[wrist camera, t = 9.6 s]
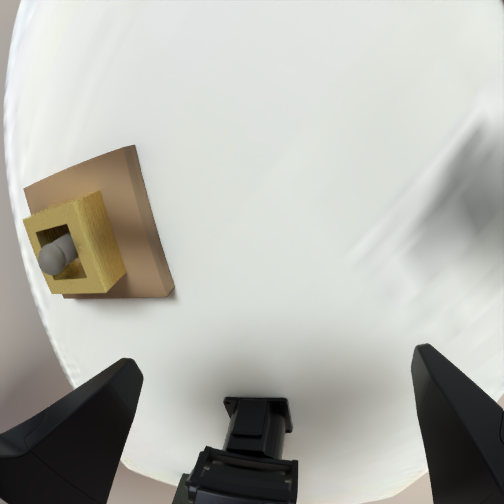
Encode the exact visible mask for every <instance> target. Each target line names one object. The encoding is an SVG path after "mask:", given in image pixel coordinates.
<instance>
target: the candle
mask: <svg viewBox="0 0 504 504" xmlns="http://www.w3.org/2000/svg"><path fill="white" fill-rule="evenodd" d="M188 477H189V474H183V475H182V477H181V479H180V482H179V485H178V488H177V491H176V494H175V497H174V500H173V502H172V504H193V503H190V502H188V490H187V488H186V487H185V482H186V480H187V478H188Z"/></svg>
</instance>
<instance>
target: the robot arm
mask: <svg viewBox="0 0 504 504" xmlns="http://www.w3.org/2000/svg"><path fill="white" fill-rule="evenodd" d="M411 373H412V379H413V386H414V393H415V401H416V409H417V416H418V421H419V425H420V430H421V434H422V439H423V443H424V448H425V453H426V458H427V464H428V469H429V475H430V482H431V488H432V495H433V503H434V504H504V411H503V409H502V407H501V406H499V405H498V404H497V403H496V402H495V401H494V400H493V399H492V398H491V397H490V396H489V395H487V394H486V393H485V392H484V391H483V390H482V389H481V388H480V387H479V386H477V385H476V384H475V383H474V382H473V381H472V380H471V379H470V378H468V377H467V376H466V375H465V374H464V373H463V372H462V371H461V370H459V369H458V368H457V367H456V366H455V365H454V364H452V363H451V362H450V361H449V360H448V359H447V358H446V357H444V356H443V355H442V354H441V353H440V352H439V351H437V350H436V349H435V348H434V347H433V346H431V345H430V344H428V343H426V344H421V345H417V346H416V347H415V349H414V354H413V359H412V364H411ZM142 384H143V374H142V372H141V371H140V369H139V367H138V366H137V364H136V362H135V361H134V360H133V359H131V358H122V359H120V360H118V361H117V362H115V363H114V364H112V365H111V366H110V367H108V368H107V369H105V370H104V371H102V372H101V373H99V374H98V375H96V376H95V377H93V378H92V379H90V380H89V381H87V382H86V383H84V384H83V385H81V386H80V387H78V388H76V389H75V390H73V391H72V392H70V393H69V394H67V395H66V396H64V397H63V398H61V399H60V400H59V401H57V402H55V403H54V404H52V405H51V406H50V407H47V408H46V409H45V410H43V411H41V412H40V413H38V414H37V415H35V416H33V417H32V418H30V419H28V420H26V421H24V422H23V423H21V424H19V425H17V426H15V427H13V428H11V429H9V430H8V431H6V432H4V433H2V434H0V504H106V503H107V500H108V496H109V493H110V490H111V487H112V483H113V480H114V477H115V474H116V470H117V467H118V464H119V461H120V458H121V455H122V452H123V449H124V446H125V443H126V440H127V437H128V434H129V431H130V428H131V425H132V422H133V419H134V416H135V413H136V409H137V404H138V400H139V396H140V392H141V388H142ZM223 403H224V405H225V408H226V410H227V412H228V414H229V417H230V419H231V420H230V424H229V428H228V432H227V435H226V439H225V443H224V446H223V450H219V449H214V448H212V447H209V446H206V447H205V449H204V451H201V452H200V454H199V457H198V460H197V462H196V465H195V467H194V469H193V470H192V472H191V473H190V475H189V477H188V478H187V480H186V482H185V487H186V488H187V490H188V502H190V503H193V504H296V501H297V492H298V460H292V461H290V460H281V459H282V451H283V444H284V436H285V433H291V432H292V429H293V428H292V422H291V416H290V410H289V404H288V400H287V399H285V398H237V397H225V398H224V401H223Z"/></svg>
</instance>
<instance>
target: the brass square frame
mask: <svg viewBox="0 0 504 504" xmlns="http://www.w3.org/2000/svg"><path fill="white" fill-rule="evenodd" d="M23 222H24V225H25V228H26V231H27V234H28V237H29V240H30V243H31V245H32V248H33V251H34V253H35V256H36V258H37V261H38V255H39V252H40V250H41V249H42V247H43V246H45V245H46V244H49V243H52V242H53V241H55V240H57V239H58V238H60V237H61V236H63V235H64V234H65V231H64V228H63V225H64V224H67V225H68V228H69V231H70V234H71V237H72V239H73V242H74V245H75V248H76V251H77V253H78V256H79V258H80V261H81V262H78V263H76V261H75V260H74V261H72V262H71V263H70V264H68V265H67V266H66V267H65V268H64V269H63V271H62V272H60V273H59V274H57V275H48V274H46V273H44V272H43V271H42V269H41V271H42V273H43V275H44V278H45V280H46V282H47V284H48V287H49V289H50V291H51V293H52V294H77V293H106V292H107V291H108V290H109V289H110V288H111V287H112V286H113V285H114V284H115V283H116V282H117V281H118V280H119V279H120V278H121V277H122V276H123V275H124V274H125V273H126V272H127V271H126V268H125V266H124V263H123V260H122V257H121V254H120V252H119V249H118V246H117V243H116V240H115V237H114V234H113V231H112V228H111V224H110V221H109V218H108V215H107V211H106V208H105V205H104V201H103V198H102V194H101V191H100V190H98V191H95V192H92V193H88V194H85V195H82V196H79V197H76V198H73V199H69V200H66V201H63V202H60V203H57V204H55V205H52V206H49V207H46V208H44V209H42V210H40V211H38V212H36V213H35V214H33V215H31V216H29V217H27V218H25V219H23Z"/></svg>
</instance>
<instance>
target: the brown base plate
mask: <svg viewBox="0 0 504 504" xmlns="http://www.w3.org/2000/svg"><path fill="white" fill-rule="evenodd" d="M98 190H100V191H101V194H102V198H103V201H104V205H105V208H106V211H107V215H108V218H109V221H110V224H111V228H112V231H113V234H114V237H115V240H116V243H117V246H118V249H119V252H120V254H121V257H122V260H123V263H124V266H125V268H126V271H127V272H126V273H125V274H124V275H123V276H122V277H121V278H120V279H119V280H118V281H117V282H116V283H115V284H114V285H113V286H112V287H111V288H110V289H109V290H108V291H107V292H106V293H77V294H62V295H63V297H64V298H139V297H167V296H168V295H169V293H170V292H171V290H172V289H173V288H174V283H173V280H172V277H171V274H170V271H169V268H168V265H167V262H166V258H165V255H164V252H163V249H162V246H161V242H160V239H159V236H158V232H157V229H156V225H155V222H154V218H153V215H152V211H151V208H150V204H149V200H148V197H147V193H146V189H145V185H144V181H143V177H142V173H141V169H140V165H139V161H138V157H137V152H136V148H135V145H131V146H127V147H123V148H120V149H117V150H114V151H111V152H108V153H106V154H103V155H100V156H98V157H95V158H92V159H90V160H87V161H85V162H82V163H80V164H77V165H75V166H72V167H70V168H67V169H65V170H63V171H60V172H58V173H56V174H54V175H51V176H49V177H47V178H45V179H43V180H40V181H38V182H36V183H34V184H32V185H30V186H28V187H26V188H24V192H25V196H26V199H27V203H28V206H29V209H30V213H31V215H33V214H35V213H36V212H38V211H40V210H42V209H44V208H46V207H49V206H52V205H55V204H57V203H60V202H63V201H66V200H69V199H73V198H76V197H79V196H82V195H85V194H88V193H92V192H95V191H98ZM63 228H64V231H65V234H64V235H63V236H61V237H60V238H58V239H57V240H55V241H53V242H52V243H49V244H46V245H45V246H43V247H42V249H41V250H40V252H39V255H38V263H39V266H40V268H41V269H42V271H43V272H44V273H46V274H48V275H57V274H59V273H60V272H62V271H63V269H64V268H65V267H66V266H67V265H68V264H70V263H71V262H72V261H74V260H75V261H76V263H78V262H81V261H80V258H79V256H78V253H77V251H76V248H75V245H74V242H73V239H72V237H71V234H70V231H69V228H68V225H67V224H64V225H63Z"/></svg>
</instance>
